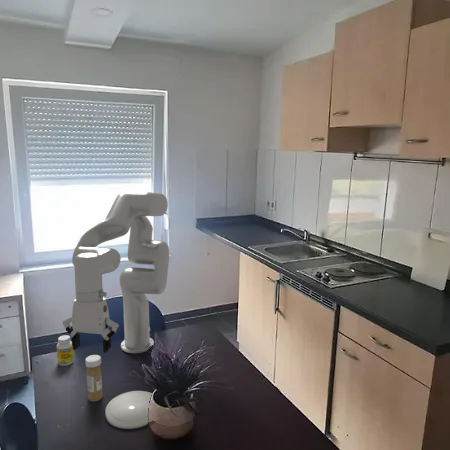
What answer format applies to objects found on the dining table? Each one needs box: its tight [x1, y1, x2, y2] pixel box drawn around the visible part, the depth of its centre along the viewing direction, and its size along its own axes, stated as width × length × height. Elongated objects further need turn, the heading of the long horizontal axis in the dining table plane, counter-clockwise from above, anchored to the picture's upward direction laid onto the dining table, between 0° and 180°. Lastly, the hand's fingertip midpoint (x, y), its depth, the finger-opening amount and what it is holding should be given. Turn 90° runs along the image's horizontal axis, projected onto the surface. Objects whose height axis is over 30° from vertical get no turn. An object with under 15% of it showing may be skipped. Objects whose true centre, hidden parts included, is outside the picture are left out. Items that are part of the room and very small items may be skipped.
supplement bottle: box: [56, 334, 75, 367], centre depth 146 cm, size 5×5×10 cm
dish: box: [104, 390, 153, 430], centre depth 121 cm, size 16×16×1 cm
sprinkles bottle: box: [84, 354, 104, 403], centre depth 125 cm, size 5×5×13 cm
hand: (91, 349), depth 123 cm, fingers open, 9 cm apart
